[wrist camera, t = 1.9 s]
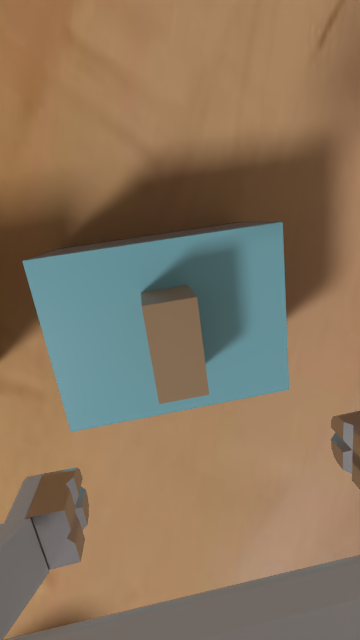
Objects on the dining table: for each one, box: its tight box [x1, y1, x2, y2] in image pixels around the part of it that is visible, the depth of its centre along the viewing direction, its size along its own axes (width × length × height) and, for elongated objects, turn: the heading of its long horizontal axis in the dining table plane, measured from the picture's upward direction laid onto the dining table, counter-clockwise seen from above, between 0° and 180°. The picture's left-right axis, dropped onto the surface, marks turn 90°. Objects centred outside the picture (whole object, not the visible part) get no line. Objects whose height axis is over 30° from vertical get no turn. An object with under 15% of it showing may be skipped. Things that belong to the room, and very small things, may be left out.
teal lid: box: [22, 222, 289, 432], centre depth 21 cm, size 12×16×6 cm
